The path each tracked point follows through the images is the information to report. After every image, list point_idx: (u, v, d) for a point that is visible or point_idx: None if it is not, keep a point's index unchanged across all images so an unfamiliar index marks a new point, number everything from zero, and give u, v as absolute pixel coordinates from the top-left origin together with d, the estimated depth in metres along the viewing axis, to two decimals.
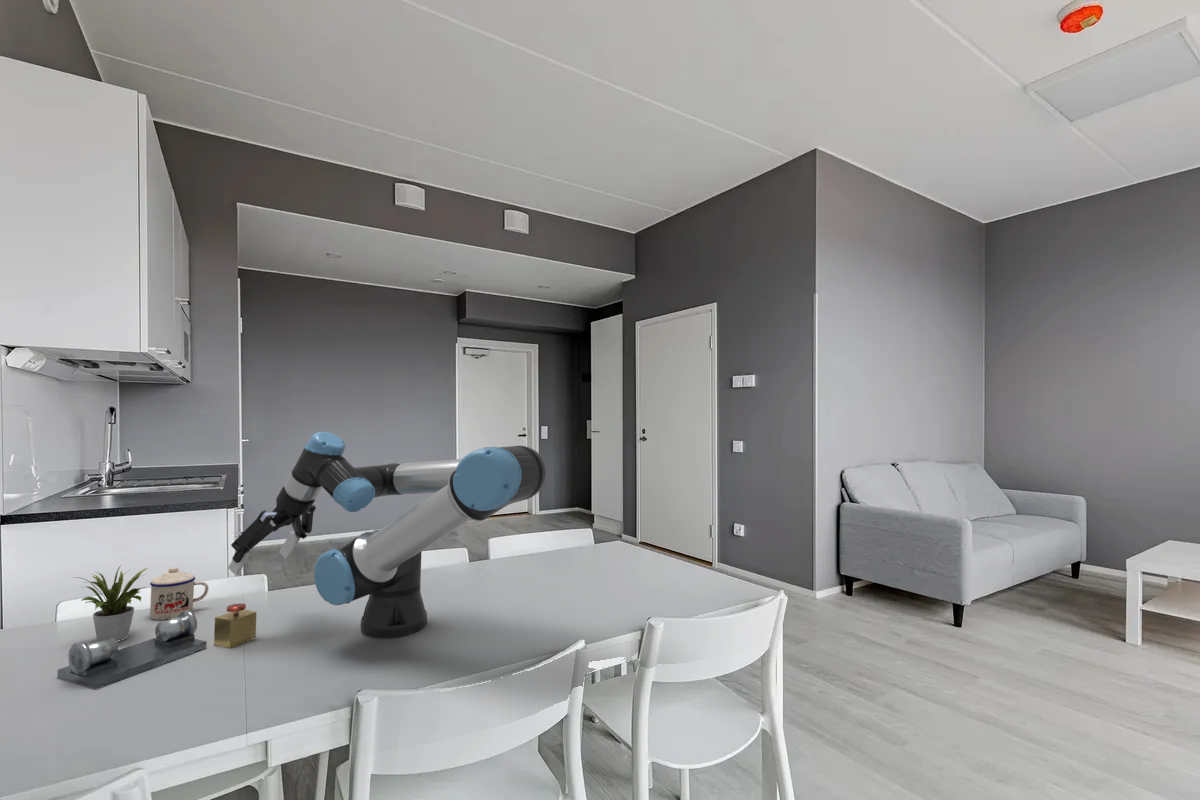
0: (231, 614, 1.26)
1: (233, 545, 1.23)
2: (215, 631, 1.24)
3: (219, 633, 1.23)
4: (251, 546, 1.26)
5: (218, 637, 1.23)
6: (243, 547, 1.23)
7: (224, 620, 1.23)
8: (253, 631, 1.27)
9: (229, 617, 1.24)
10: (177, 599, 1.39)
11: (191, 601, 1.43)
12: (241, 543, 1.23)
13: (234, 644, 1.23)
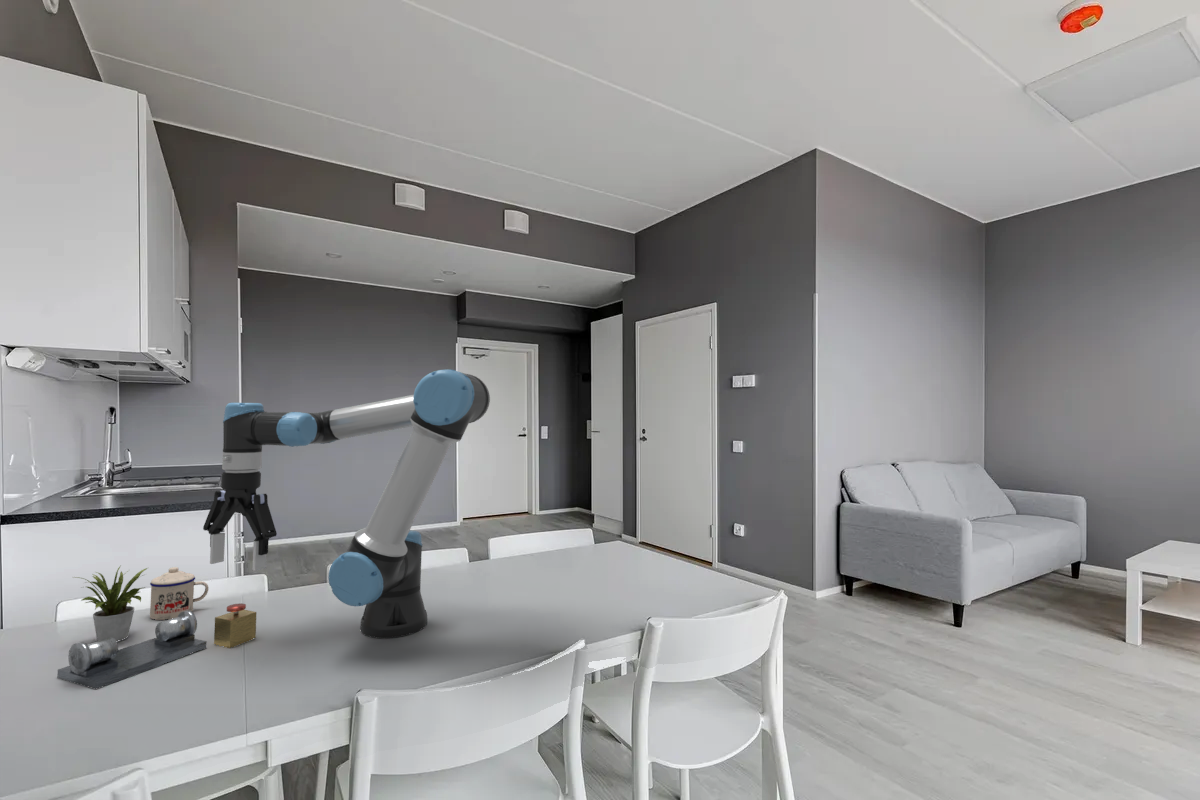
0: (231, 614, 1.26)
1: (268, 534, 1.22)
2: (215, 631, 1.24)
3: (219, 633, 1.23)
4: None
5: (218, 637, 1.23)
6: None
7: (224, 620, 1.23)
8: (253, 631, 1.27)
9: (229, 617, 1.24)
10: (177, 599, 1.39)
11: (191, 601, 1.43)
12: (271, 527, 1.24)
13: (234, 644, 1.23)
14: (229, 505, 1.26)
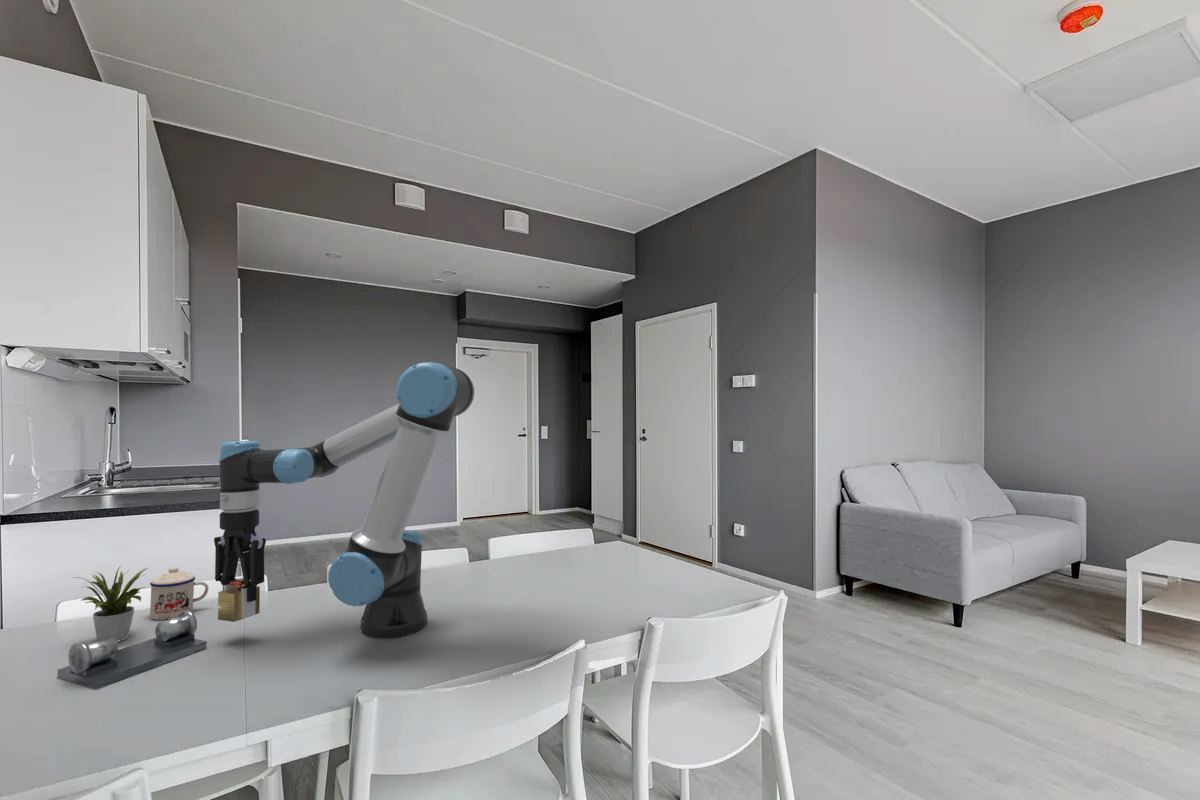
0: (234, 589, 1.26)
1: (256, 581, 1.23)
2: (219, 605, 1.24)
3: (223, 607, 1.23)
4: None
5: (222, 611, 1.23)
6: None
7: (227, 594, 1.23)
8: (257, 605, 1.27)
9: (232, 591, 1.24)
10: (177, 599, 1.39)
11: (191, 601, 1.43)
12: (261, 575, 1.24)
13: (238, 618, 1.23)
14: (230, 545, 1.25)
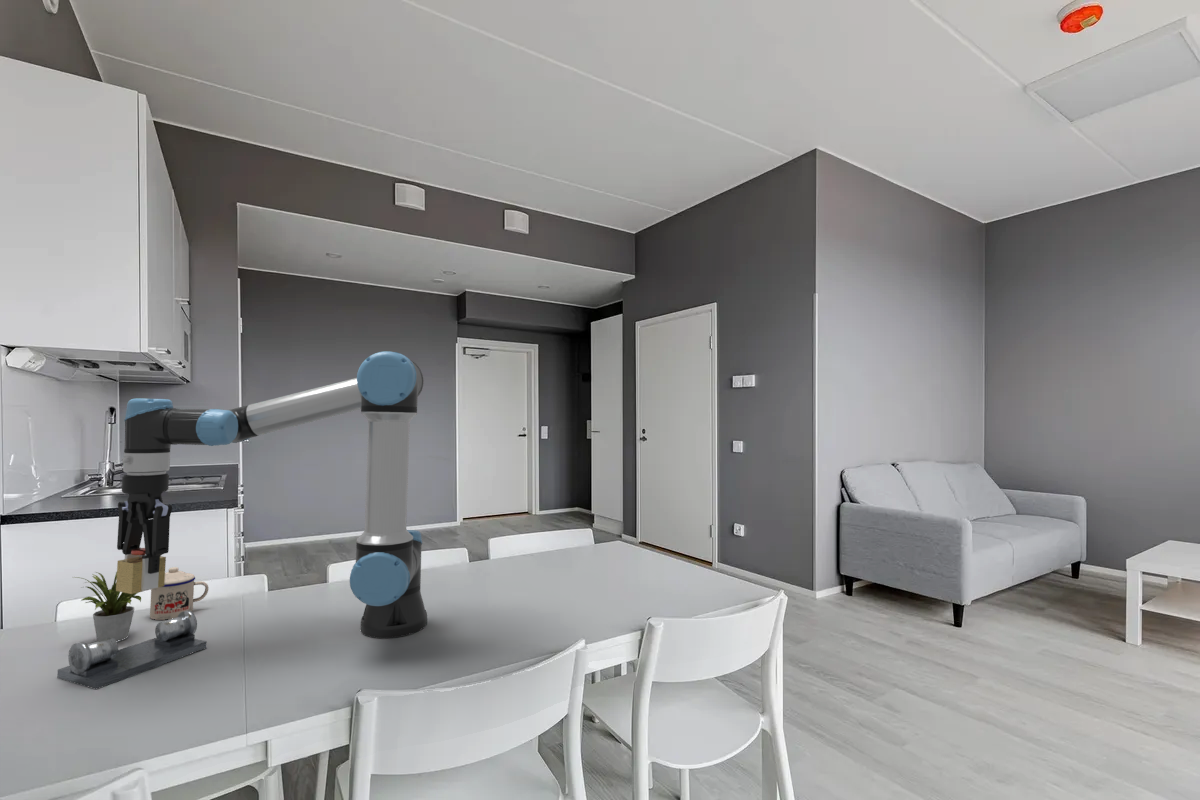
0: (137, 558, 1.16)
1: (158, 551, 1.13)
2: (118, 576, 1.13)
3: (121, 577, 1.13)
4: None
5: (120, 582, 1.13)
6: None
7: (126, 563, 1.13)
8: (161, 577, 1.17)
9: (132, 561, 1.14)
10: (177, 599, 1.39)
11: (191, 601, 1.43)
12: (164, 544, 1.14)
13: (137, 590, 1.13)
14: (133, 511, 1.15)
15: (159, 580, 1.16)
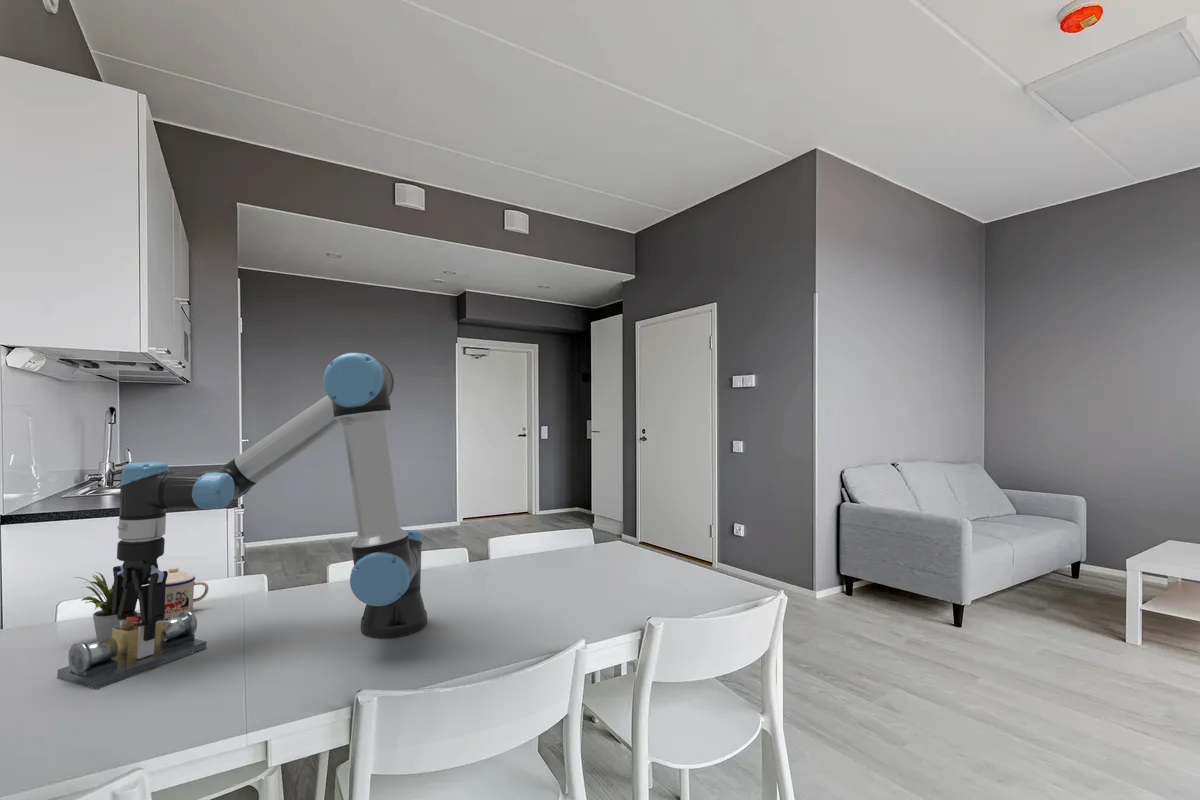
0: (132, 624, 1.15)
1: (154, 619, 1.12)
2: None
3: None
4: None
5: None
6: None
7: (121, 631, 1.12)
8: (157, 643, 1.16)
9: (127, 628, 1.13)
10: (177, 599, 1.39)
11: (191, 601, 1.43)
12: (160, 611, 1.13)
13: (133, 657, 1.12)
14: (129, 577, 1.14)
15: (155, 645, 1.16)
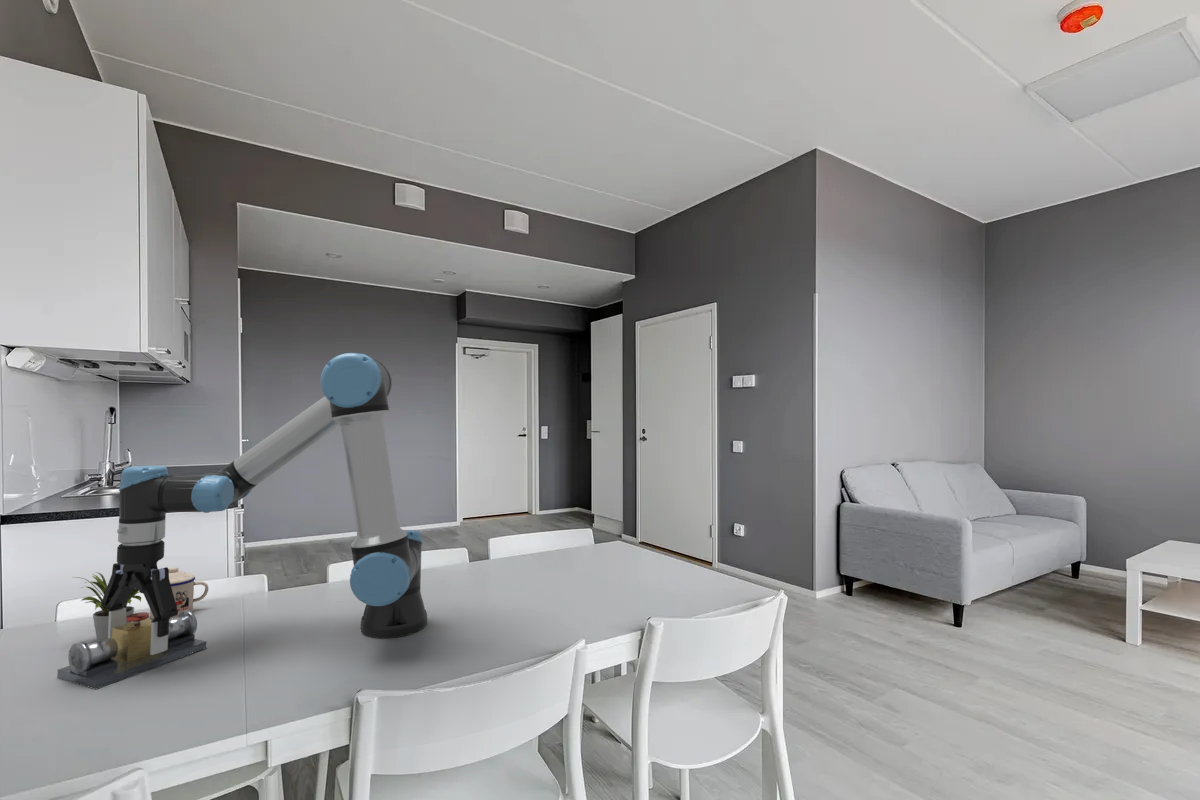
0: (132, 624, 1.15)
1: (167, 614, 1.11)
2: None
3: None
4: None
5: None
6: None
7: (121, 631, 1.12)
8: None
9: (127, 628, 1.13)
10: (177, 599, 1.39)
11: (191, 601, 1.43)
12: (172, 606, 1.12)
13: (133, 657, 1.12)
14: (127, 580, 1.14)
15: None
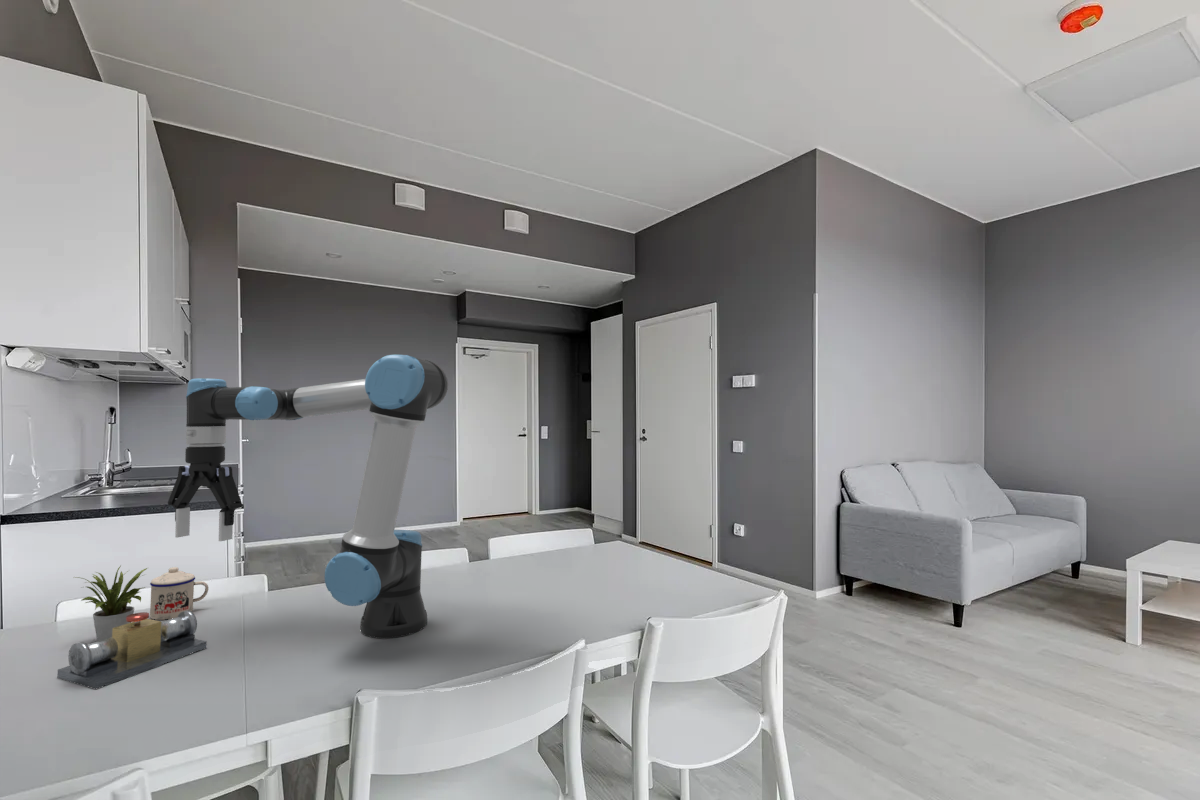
0: (132, 624, 1.15)
1: (234, 505, 1.26)
2: None
3: None
4: None
5: None
6: None
7: (121, 631, 1.12)
8: (157, 643, 1.16)
9: (127, 628, 1.13)
10: (177, 599, 1.39)
11: (191, 601, 1.43)
12: (237, 499, 1.27)
13: (133, 657, 1.12)
14: (194, 479, 1.29)
15: (155, 645, 1.16)
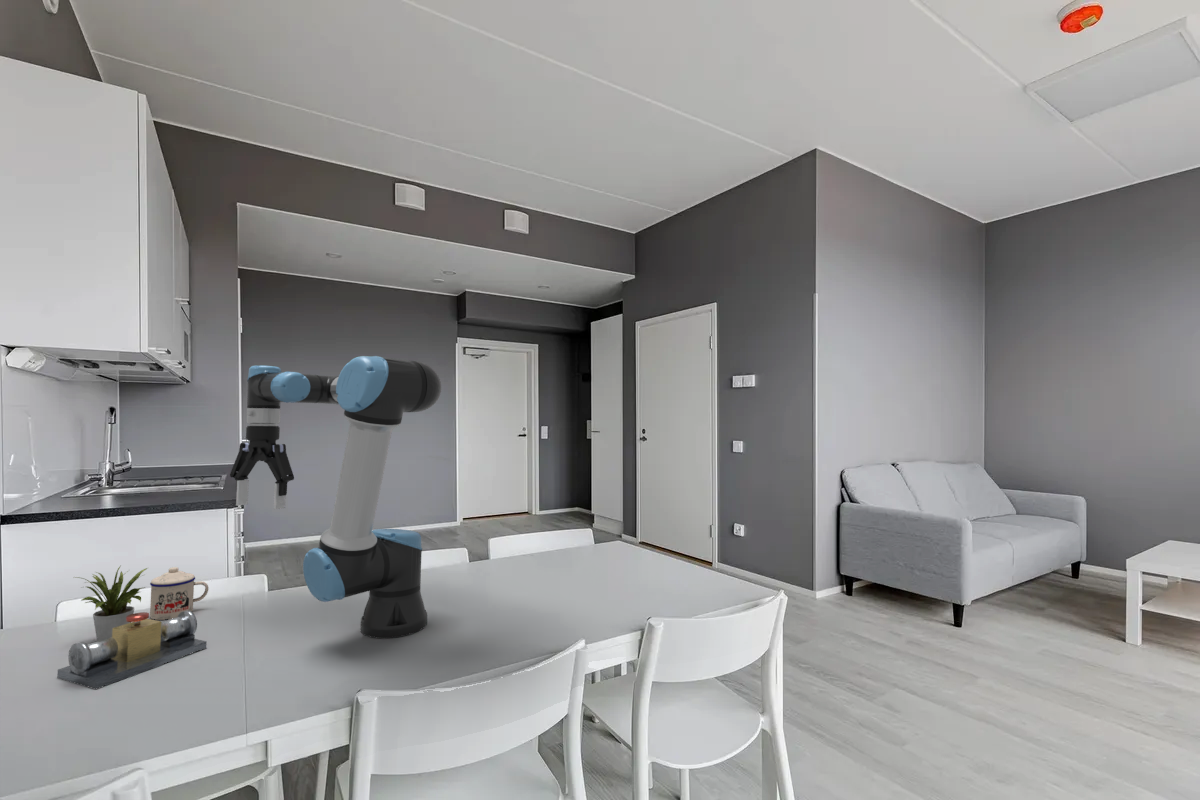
0: (132, 624, 1.15)
1: (287, 478, 1.43)
2: None
3: None
4: None
5: None
6: None
7: (121, 631, 1.12)
8: (157, 643, 1.16)
9: (127, 628, 1.13)
10: (177, 599, 1.39)
11: (191, 601, 1.43)
12: (289, 472, 1.44)
13: (133, 657, 1.12)
14: (253, 454, 1.46)
15: (155, 645, 1.16)
